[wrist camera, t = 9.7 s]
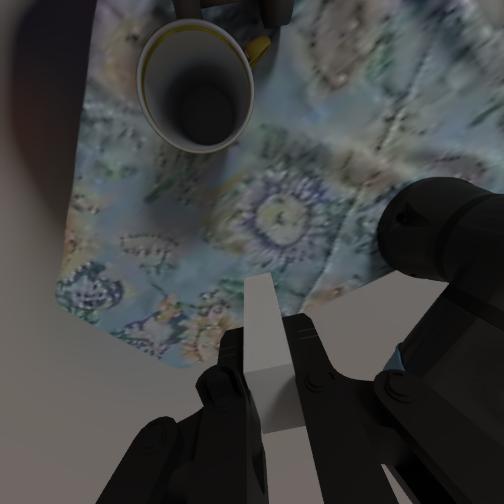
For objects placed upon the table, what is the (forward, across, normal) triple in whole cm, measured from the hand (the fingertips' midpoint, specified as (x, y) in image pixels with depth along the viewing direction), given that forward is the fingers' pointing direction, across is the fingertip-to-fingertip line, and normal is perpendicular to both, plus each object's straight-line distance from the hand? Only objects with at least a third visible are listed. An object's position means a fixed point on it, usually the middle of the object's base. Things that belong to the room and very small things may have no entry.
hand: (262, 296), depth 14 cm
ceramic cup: (+22, -1, +15) cm, 26 cm away
